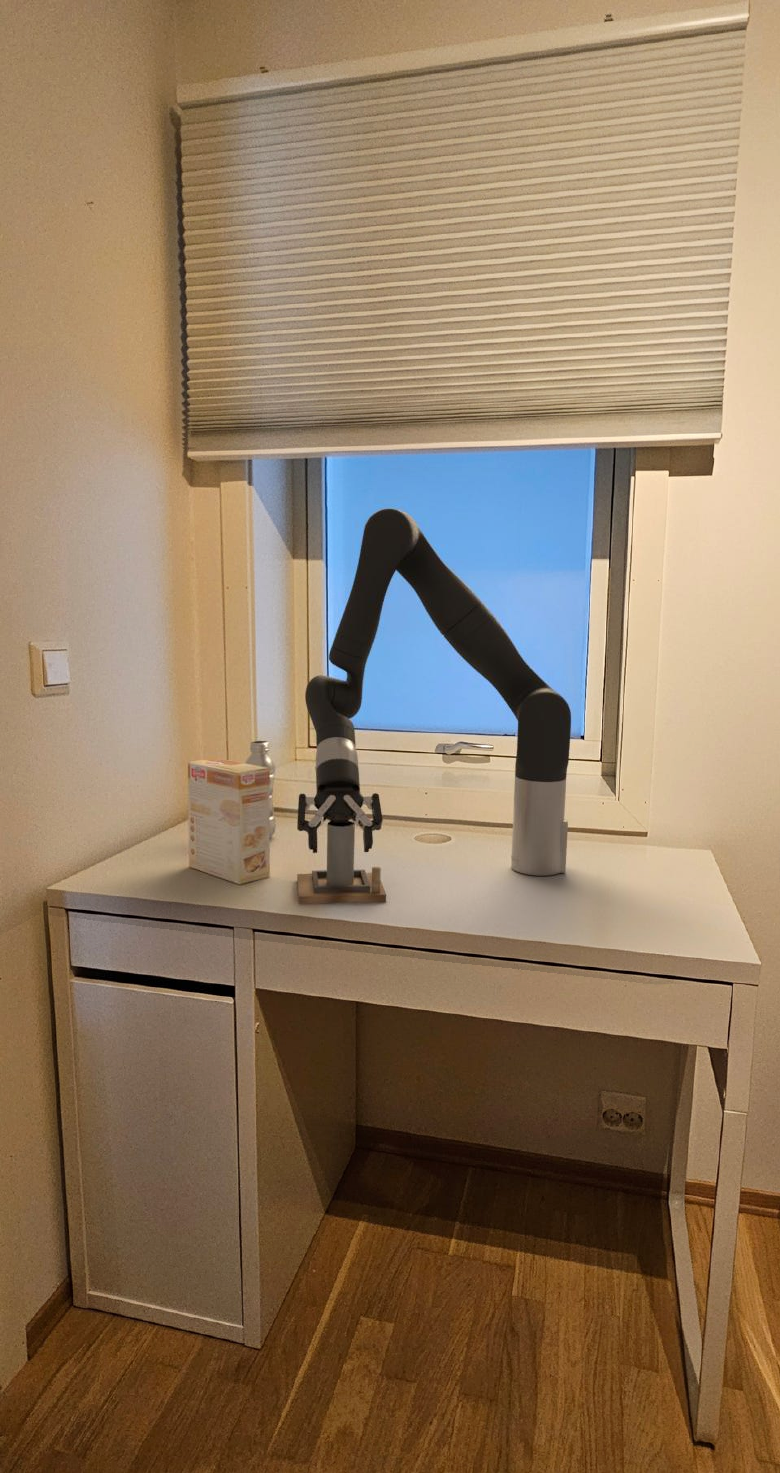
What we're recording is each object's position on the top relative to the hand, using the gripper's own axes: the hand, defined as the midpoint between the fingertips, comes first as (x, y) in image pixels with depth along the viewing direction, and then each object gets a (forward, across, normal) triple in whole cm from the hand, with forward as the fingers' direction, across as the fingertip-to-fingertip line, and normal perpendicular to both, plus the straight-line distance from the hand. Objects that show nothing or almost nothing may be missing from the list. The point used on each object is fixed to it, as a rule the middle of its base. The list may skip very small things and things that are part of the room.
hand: (341, 850), depth 139 cm
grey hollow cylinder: (+3, 0, +6) cm, 7 cm away
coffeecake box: (-4, -19, +15) cm, 24 cm away
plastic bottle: (-20, -14, +31) cm, 40 cm away
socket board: (+4, 0, +6) cm, 7 cm away
